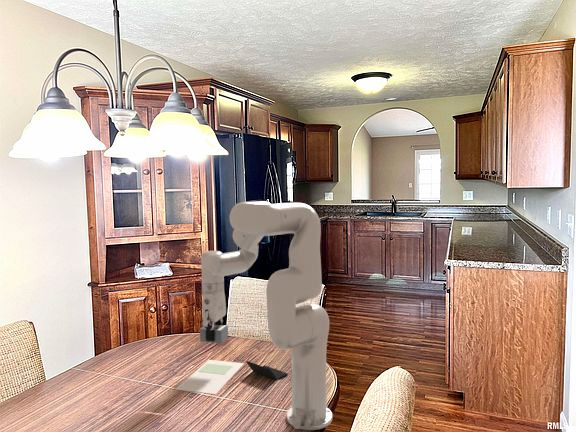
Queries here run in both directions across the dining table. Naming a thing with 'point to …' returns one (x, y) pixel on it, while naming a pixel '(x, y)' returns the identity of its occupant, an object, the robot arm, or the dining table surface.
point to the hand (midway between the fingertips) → (214, 337)
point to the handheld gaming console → (267, 371)
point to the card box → (220, 334)
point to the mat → (210, 377)
